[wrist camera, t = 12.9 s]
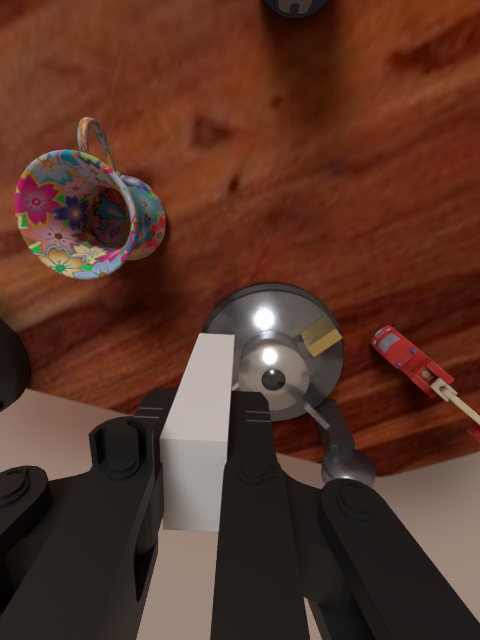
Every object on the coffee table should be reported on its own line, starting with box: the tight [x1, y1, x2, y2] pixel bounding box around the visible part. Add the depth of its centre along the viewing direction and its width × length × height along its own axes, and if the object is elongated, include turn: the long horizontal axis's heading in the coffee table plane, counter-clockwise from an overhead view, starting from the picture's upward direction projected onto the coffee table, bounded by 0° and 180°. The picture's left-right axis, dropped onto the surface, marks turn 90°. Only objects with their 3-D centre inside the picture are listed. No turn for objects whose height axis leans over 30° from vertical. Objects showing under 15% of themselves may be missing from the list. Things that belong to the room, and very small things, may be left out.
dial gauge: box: [303, 399, 376, 489], centre depth 33 cm, size 6×5×13 cm
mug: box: [15, 117, 166, 280], centre depth 27 cm, size 12×9×11 cm
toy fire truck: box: [370, 325, 480, 443], centre depth 32 cm, size 3×14×10 cm, turn 51°
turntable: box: [206, 289, 343, 421], centre depth 33 cm, size 16×16×6 cm
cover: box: [238, 331, 309, 410], centre depth 32 cm, size 7×7×5 cm
